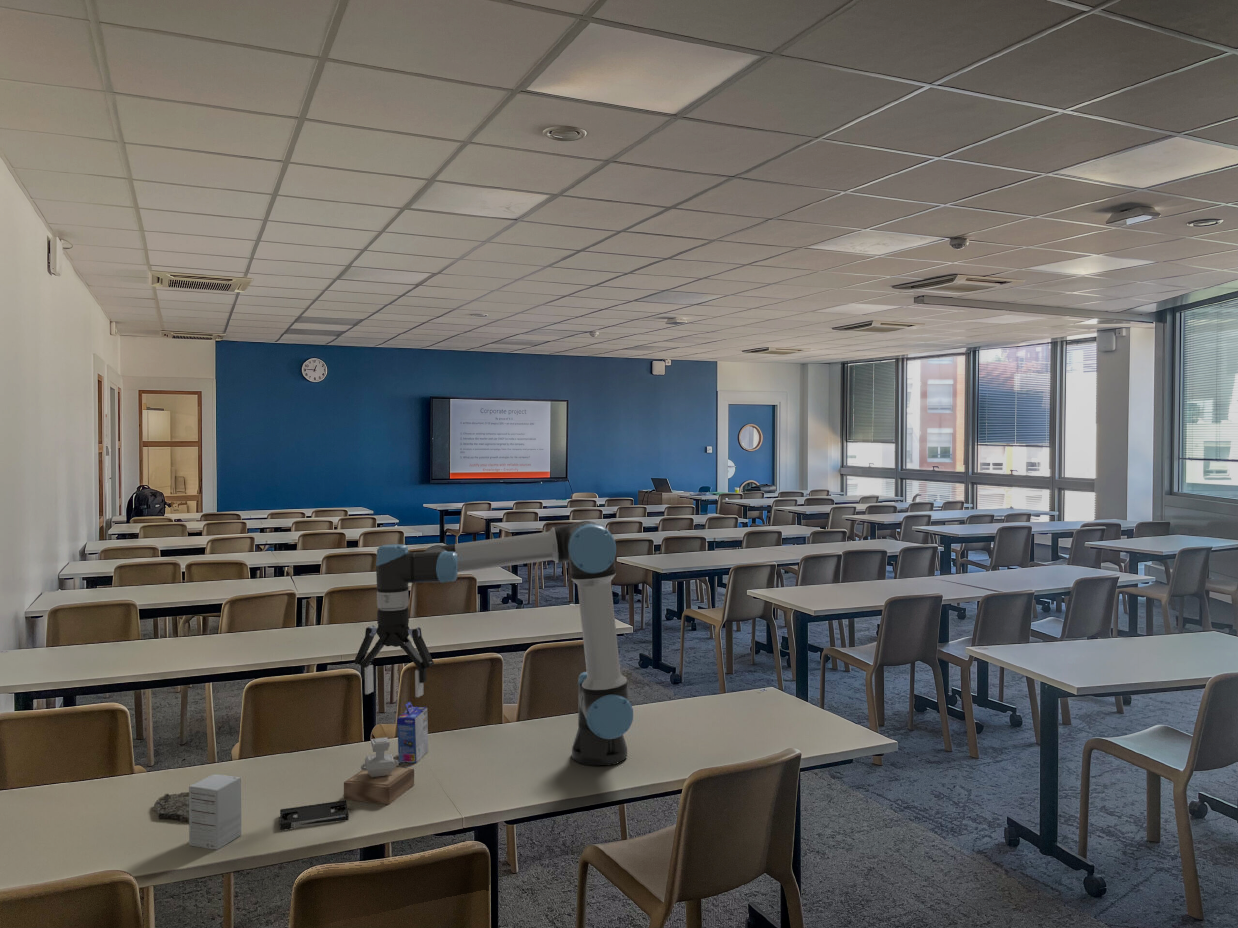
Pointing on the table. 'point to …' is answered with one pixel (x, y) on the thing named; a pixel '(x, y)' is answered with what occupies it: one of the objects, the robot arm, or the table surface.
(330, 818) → the vhs tape
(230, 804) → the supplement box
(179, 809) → the stone slab
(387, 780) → the plinth
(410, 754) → the ink cartridge box
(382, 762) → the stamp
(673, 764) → the table surface
